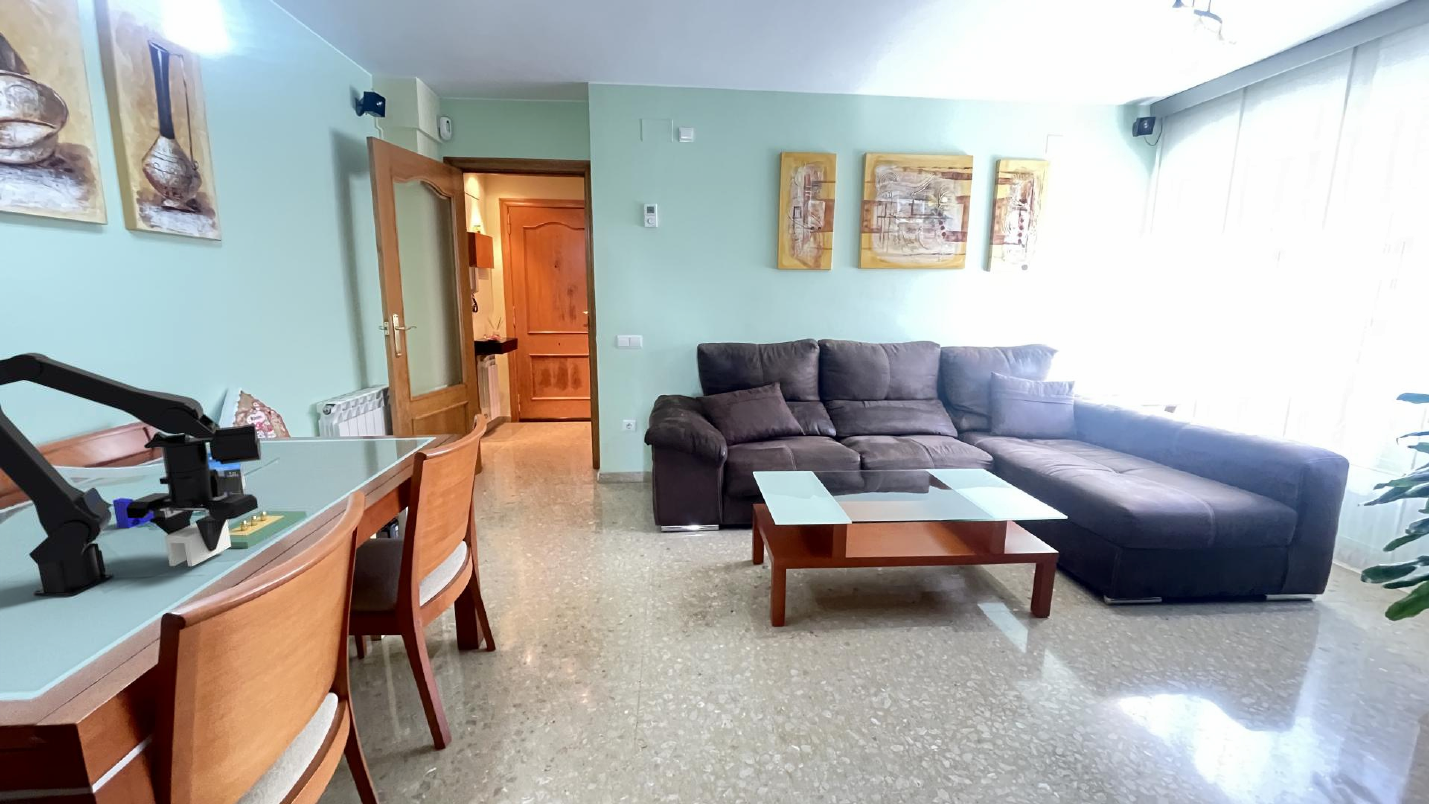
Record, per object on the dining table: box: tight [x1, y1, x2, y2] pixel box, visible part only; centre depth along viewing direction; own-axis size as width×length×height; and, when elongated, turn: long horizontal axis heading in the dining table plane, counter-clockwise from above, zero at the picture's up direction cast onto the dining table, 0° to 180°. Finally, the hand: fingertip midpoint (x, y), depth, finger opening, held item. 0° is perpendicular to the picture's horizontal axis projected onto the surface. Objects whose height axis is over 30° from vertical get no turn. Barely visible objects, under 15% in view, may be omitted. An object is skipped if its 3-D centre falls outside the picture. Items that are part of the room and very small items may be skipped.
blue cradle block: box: [112, 497, 153, 529], centre depth 122 cm, size 12×4×6 cm, turn 170°
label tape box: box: [200, 451, 248, 506], centre depth 129 cm, size 9×4×12 cm, turn 123°
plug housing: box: [164, 520, 231, 567], centre depth 101 cm, size 8×4×6 cm, turn 1°
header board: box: [228, 510, 308, 549], centre depth 116 cm, size 16×10×3 cm, turn 1°
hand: (200, 550), depth 102 cm, fingers closed on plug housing, 4 cm apart
